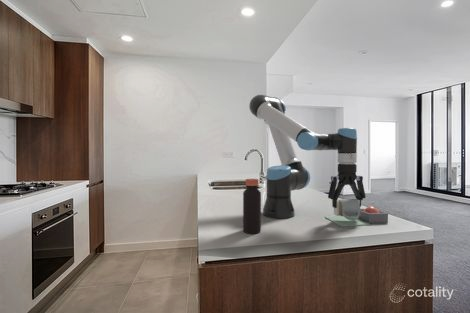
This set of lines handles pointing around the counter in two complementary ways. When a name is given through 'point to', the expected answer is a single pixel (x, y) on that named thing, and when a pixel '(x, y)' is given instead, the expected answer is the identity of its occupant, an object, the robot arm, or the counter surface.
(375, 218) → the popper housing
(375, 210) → the red dome
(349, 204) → the ceramic mug
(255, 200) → the bottle
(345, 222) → the sage square
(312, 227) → the counter surface
